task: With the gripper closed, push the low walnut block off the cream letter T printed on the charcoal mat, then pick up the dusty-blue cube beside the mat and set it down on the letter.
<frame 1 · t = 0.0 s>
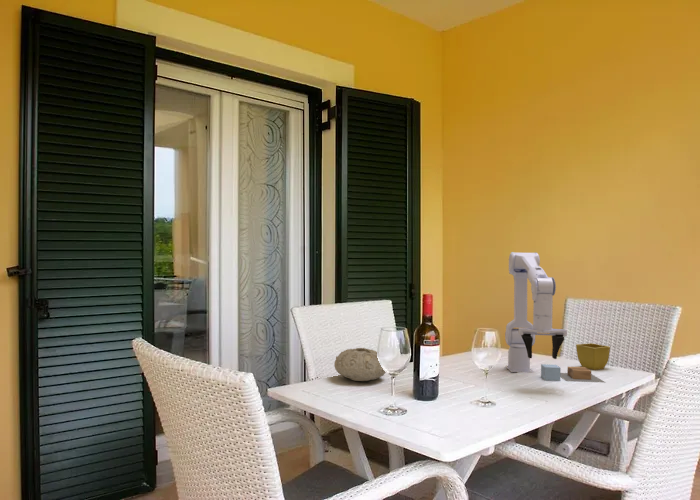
hand: (542, 358, 169), 10 cm above the table, tool pointing down, fingers open, 7 cm apart
walnut block: (579, 377, 186), resting on letter mat
blue cube: (550, 380, 183), on the table
letter mat: (579, 378, 186), on the table
flower pot: (592, 369, 202), on the table
grey rounded lump: (360, 380, 179), on the table
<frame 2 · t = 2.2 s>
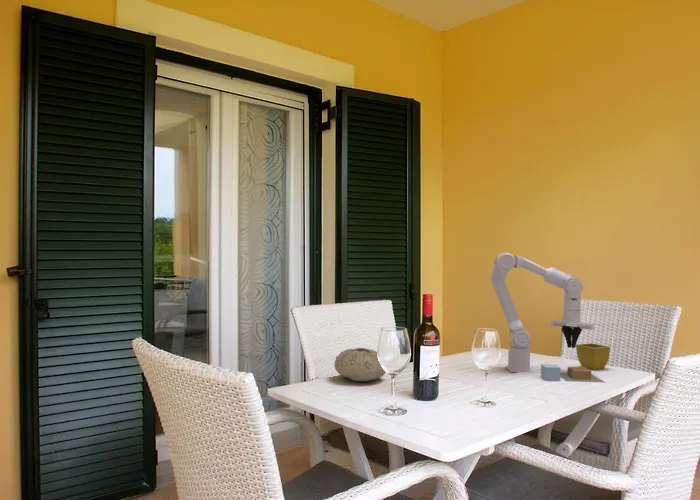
hand: (571, 347, 194), 9 cm above the table, tool pointing down, fingers closed
nothing on the table moved.
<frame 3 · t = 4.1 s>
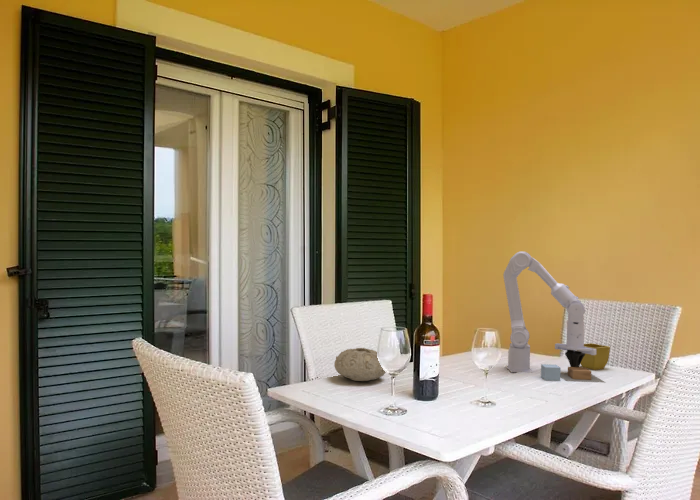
hand: (574, 372, 190), 1 cm above the table, tool pointing down, fingers closed
walnut block: (579, 377, 186), resting on letter mat, touching gripper
everything else where it was.
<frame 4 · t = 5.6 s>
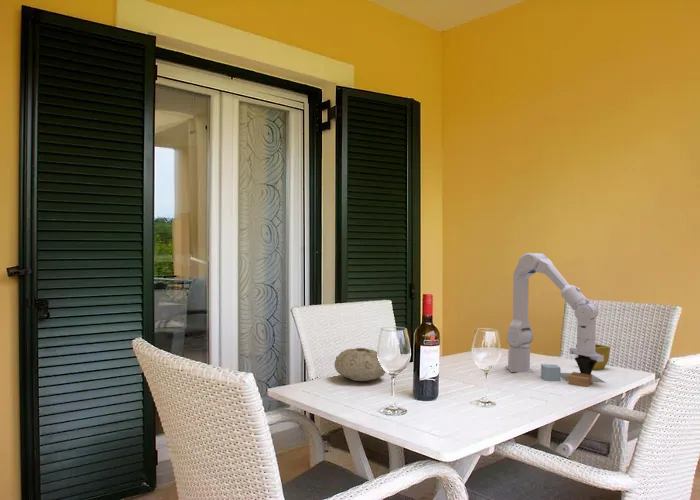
hand: (585, 378, 180), 1 cm above the table, tool pointing down, fingers closed
walnut block: (580, 384, 177), on the table, touching gripper
everything else where it was.
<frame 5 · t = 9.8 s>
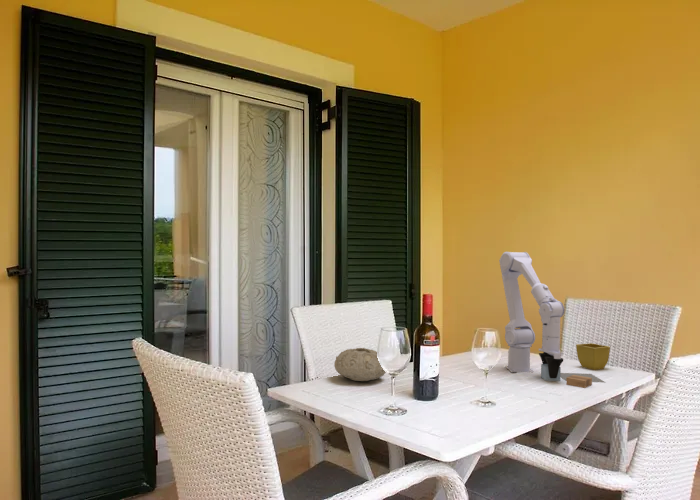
hand: (550, 376, 183), 1 cm above the table, tool pointing down, fingers closed on blue cube, 5 cm apart
walnut block: (579, 386, 175), on the table
blue cube: (550, 380, 183), on the table, touching gripper
everything else where it was.
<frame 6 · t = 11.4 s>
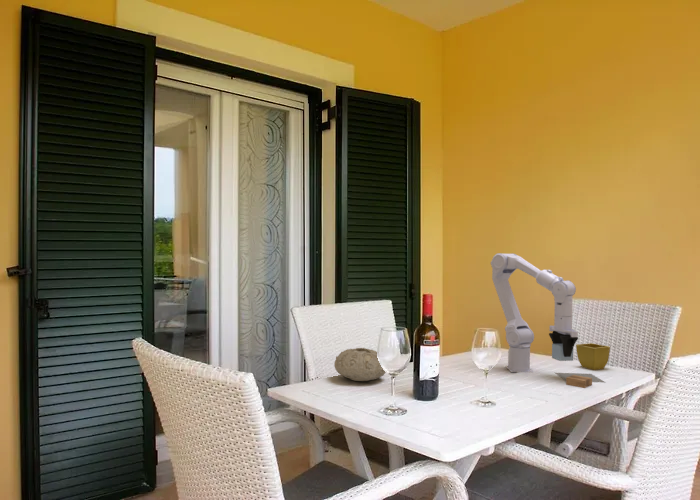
hand: (562, 355, 184), 8 cm above the table, tool pointing down, fingers closed on blue cube, 5 cm apart
blue cube: (562, 359, 184), point 7 cm above the table, touching gripper
everything else where it was.
when the fingers open (3 cm above the table, at t = 13.3 s): blue cube drops 1 cm, resting on letter mat.
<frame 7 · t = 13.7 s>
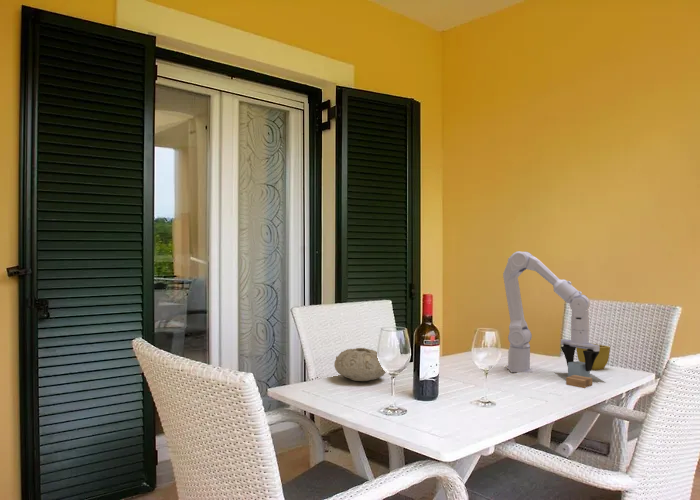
hand: (579, 368, 186), 3 cm above the table, tool pointing down, fingers open, 7 cm apart
blue cube: (578, 377, 186), resting on letter mat
everything else where it was.
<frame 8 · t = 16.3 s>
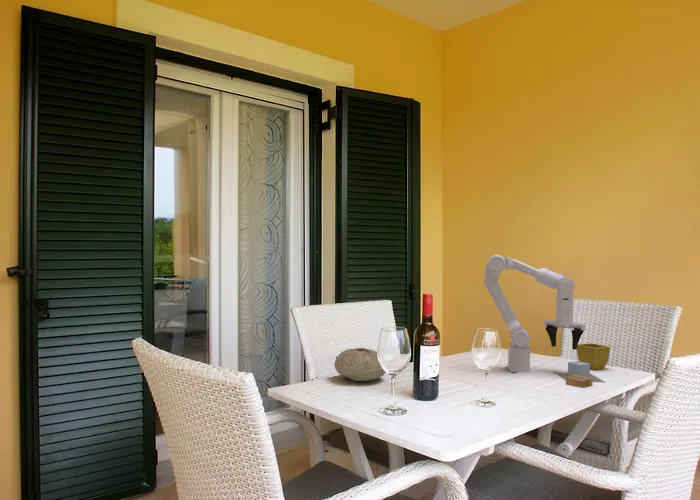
hand: (564, 347, 193), 9 cm above the table, tool pointing down, fingers open, 7 cm apart
nothing on the table moved.
at the end: blue cube 0.2 cm off-centre on the letter mat, point 0.4 cm above the letter mat's base; blue cube tilted 0°; walnut block touching table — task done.
